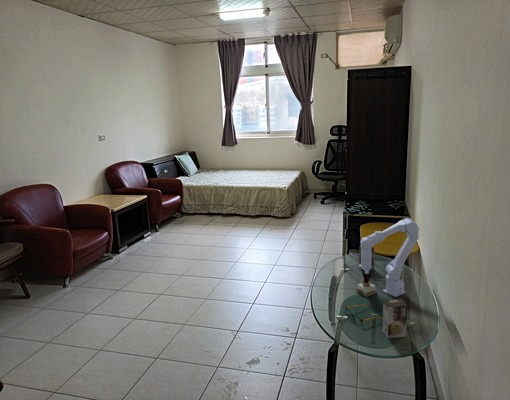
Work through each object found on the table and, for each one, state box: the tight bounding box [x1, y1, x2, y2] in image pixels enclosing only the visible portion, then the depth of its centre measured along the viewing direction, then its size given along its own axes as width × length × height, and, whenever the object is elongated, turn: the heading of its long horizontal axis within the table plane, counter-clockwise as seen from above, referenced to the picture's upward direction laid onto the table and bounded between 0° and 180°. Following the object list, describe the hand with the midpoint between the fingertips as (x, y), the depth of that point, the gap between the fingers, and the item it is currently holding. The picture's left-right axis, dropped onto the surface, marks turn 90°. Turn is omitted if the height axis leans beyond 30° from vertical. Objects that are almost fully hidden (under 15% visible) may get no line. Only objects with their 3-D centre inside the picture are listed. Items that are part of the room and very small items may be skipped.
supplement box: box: [358, 244, 375, 271], centre depth 252 cm, size 9×5×16 cm, turn 89°
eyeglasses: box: [345, 303, 383, 326], centre depth 195 cm, size 14×14×4 cm
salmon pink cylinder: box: [361, 277, 371, 287], centre depth 220 cm, size 4×4×4 cm
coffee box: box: [382, 298, 408, 339], centre depth 177 cm, size 9×6×16 cm
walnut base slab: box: [356, 288, 378, 298], centre depth 221 cm, size 8×8×2 cm
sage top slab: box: [356, 282, 376, 293], centre depth 220 cm, size 7×7×2 cm
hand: (366, 280), depth 220 cm, fingers open, 7 cm apart
